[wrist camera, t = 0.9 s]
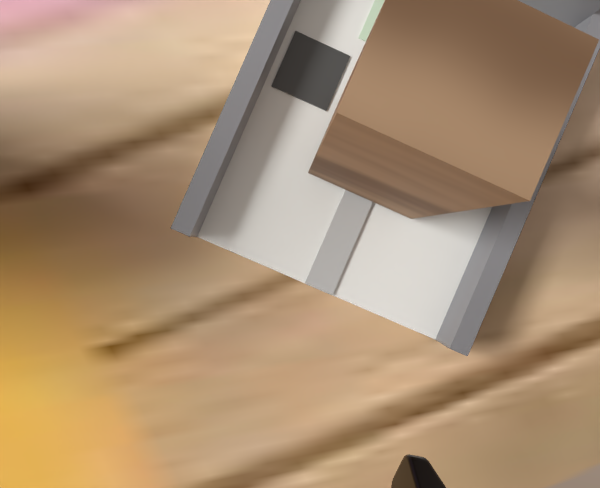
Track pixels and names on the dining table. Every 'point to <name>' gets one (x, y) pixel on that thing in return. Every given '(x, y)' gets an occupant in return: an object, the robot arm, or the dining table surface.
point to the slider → (453, 105)
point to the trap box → (335, 200)
